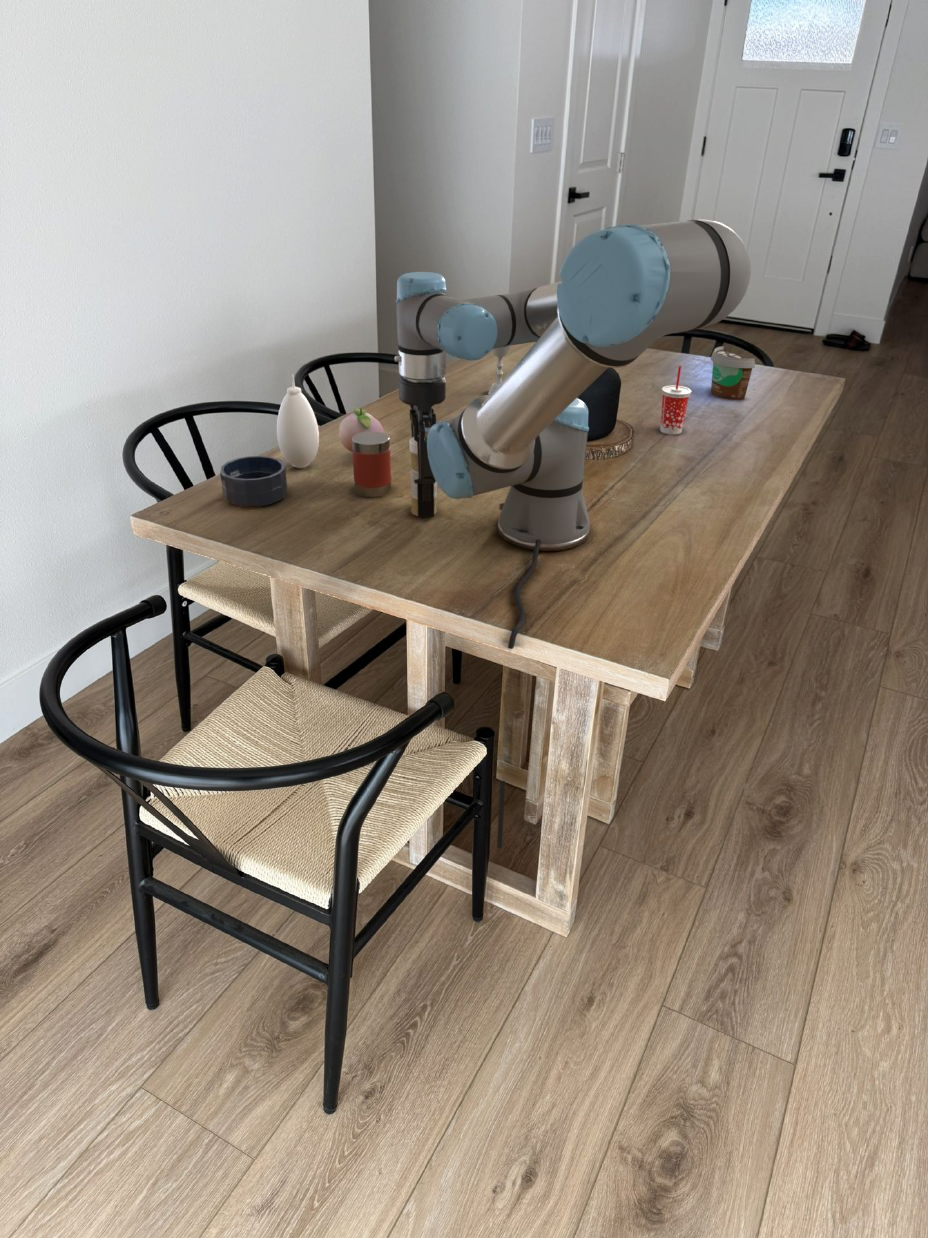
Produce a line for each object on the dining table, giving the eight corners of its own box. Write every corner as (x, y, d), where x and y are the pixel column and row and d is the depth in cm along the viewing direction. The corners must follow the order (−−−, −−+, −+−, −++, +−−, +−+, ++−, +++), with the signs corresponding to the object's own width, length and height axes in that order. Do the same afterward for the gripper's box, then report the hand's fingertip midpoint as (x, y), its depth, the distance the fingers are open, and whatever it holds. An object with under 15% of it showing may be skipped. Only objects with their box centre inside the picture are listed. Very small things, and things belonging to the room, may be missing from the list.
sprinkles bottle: (426, 505, 157) (425, 432, 150) (442, 513, 154) (442, 439, 147) (405, 511, 154) (403, 437, 147) (421, 520, 151) (420, 445, 144)
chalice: (480, 395, 209) (481, 317, 199) (487, 387, 214) (489, 311, 205) (510, 399, 207) (513, 320, 197) (517, 390, 212) (520, 313, 203)
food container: (694, 389, 216) (701, 348, 211) (715, 386, 218) (721, 345, 213) (727, 404, 206) (735, 361, 201) (748, 401, 209) (756, 358, 203)
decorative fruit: (334, 453, 177) (330, 404, 172) (372, 446, 180) (369, 398, 175) (351, 469, 170) (348, 419, 165) (390, 462, 173) (388, 412, 168)
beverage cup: (690, 433, 189) (701, 368, 182) (666, 437, 187) (675, 371, 180) (675, 424, 194) (684, 360, 187) (651, 427, 192) (659, 363, 185)
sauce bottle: (276, 461, 173) (267, 369, 163) (316, 456, 175) (309, 366, 166) (284, 476, 167) (275, 382, 157) (325, 471, 169) (318, 378, 160)
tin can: (393, 496, 160) (391, 443, 154) (355, 498, 159) (352, 445, 153) (389, 481, 165) (387, 430, 160) (353, 483, 164) (350, 432, 159)
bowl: (287, 507, 155) (284, 478, 152) (222, 511, 153) (218, 481, 151) (288, 482, 164) (285, 454, 162) (226, 485, 163) (222, 457, 160)
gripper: (393, 360, 148) (397, 488, 161) (404, 394, 133) (408, 533, 145) (437, 359, 149) (437, 486, 162) (454, 392, 134) (453, 530, 146)
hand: (423, 508), depth 154 cm, fingers open, 5 cm apart
